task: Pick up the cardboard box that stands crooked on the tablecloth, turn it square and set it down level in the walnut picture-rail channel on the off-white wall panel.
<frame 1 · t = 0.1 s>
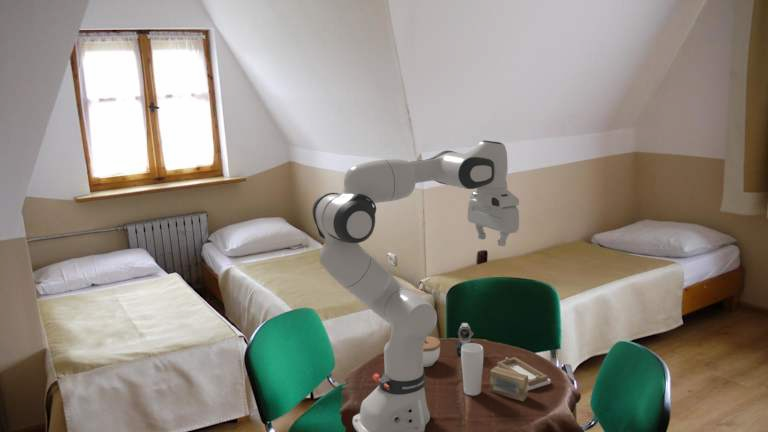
hand: (491, 242, 180), 48 cm above the table, fingers open, 8 cm apart
cardboard box: (508, 394, 188), on the table
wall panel: (521, 376, 198), on the table
lidded jar: (425, 363, 211), on the table
watch: (465, 353, 217), on the table
drinking glass: (472, 392, 190), on the table
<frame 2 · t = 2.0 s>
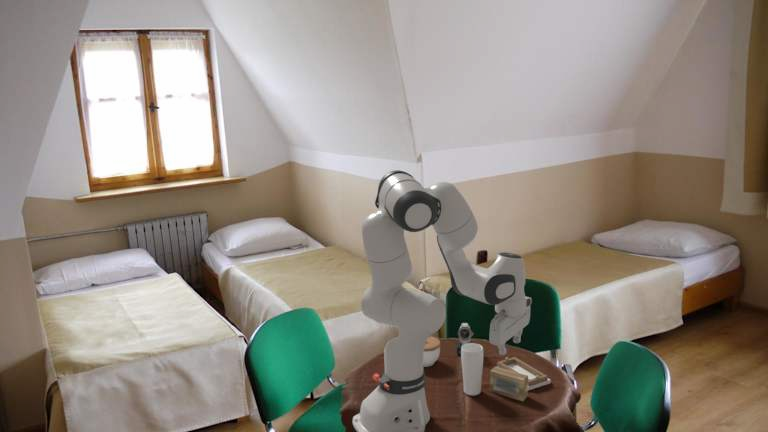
hand: (509, 348, 185), 15 cm above the table, fingers open, 8 cm apart
nothing on the table moved.
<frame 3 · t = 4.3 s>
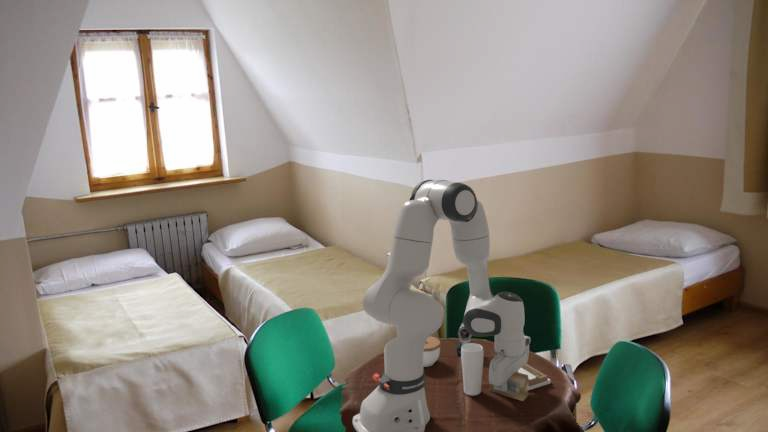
hand: (508, 386, 187), 2 cm above the table, fingers closed on cardboard box, 4 cm apart
cardboard box: (508, 393, 188), on the table, touching gripper
everything else where it was.
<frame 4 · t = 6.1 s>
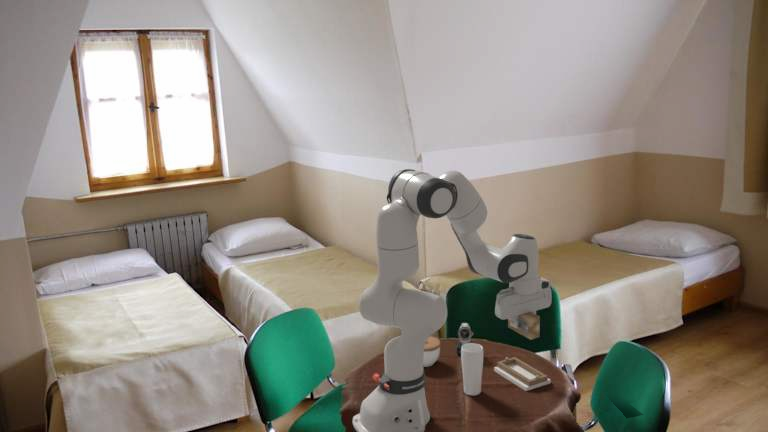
hand: (523, 325, 194), 18 cm above the table, fingers closed on cardboard box, 4 cm apart
cardboard box: (523, 332, 195), point 16 cm above the table, touching gripper
everything else where it was.
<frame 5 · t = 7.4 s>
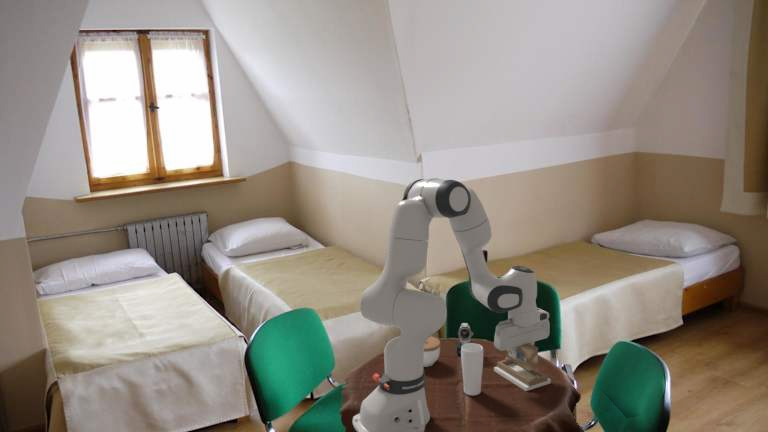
hand: (521, 356, 197), 7 cm above the table, fingers closed on cardboard box, 4 cm apart
cardboard box: (521, 362, 198), point 5 cm above the table, touching gripper
everything else where it was.
when the fingers open (5 cm above the table, at t = 8.1 s): cardboard box drops 1 cm, resting on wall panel.
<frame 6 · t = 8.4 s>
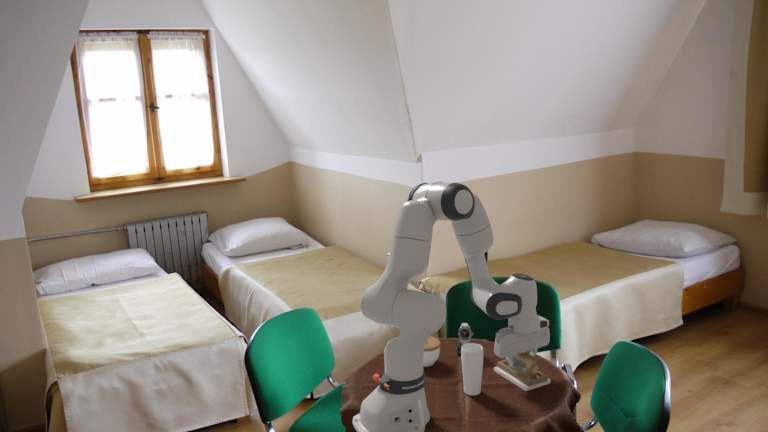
hand: (521, 363, 197), 5 cm above the table, fingers open, 6 cm apart
cardboard box: (521, 373, 198), point 1 cm above the table, touching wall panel
everything else where it was.
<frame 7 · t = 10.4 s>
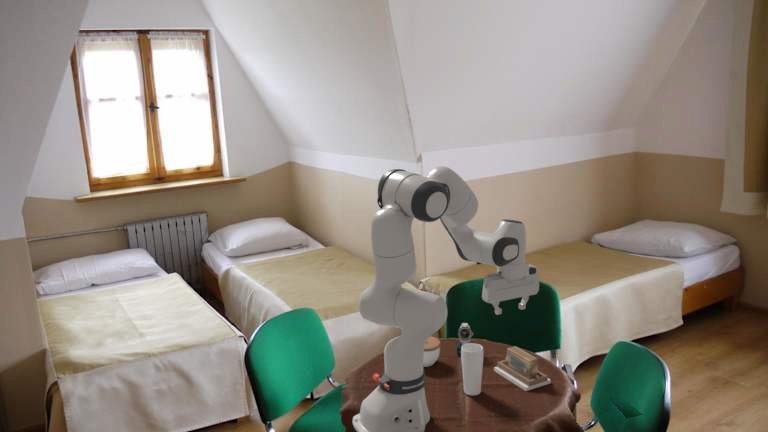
hand: (510, 311, 195), 22 cm above the table, fingers open, 8 cm apart
nothing on the table moved.
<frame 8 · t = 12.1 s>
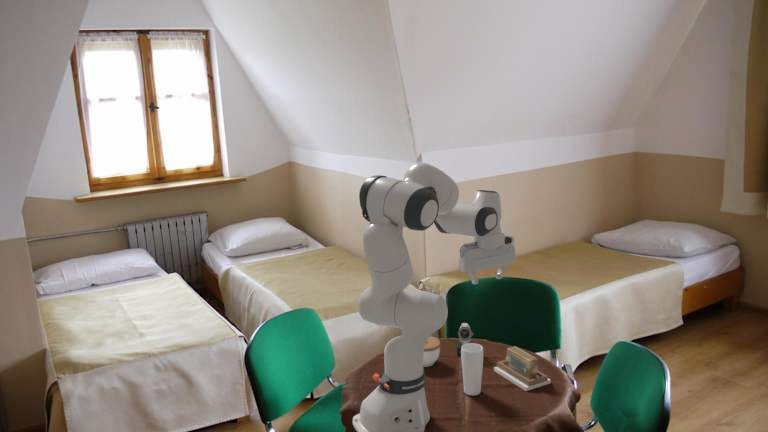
hand: (487, 280, 197), 31 cm above the table, fingers open, 8 cm apart
nothing on the table moved.
at the end: cardboard box 0.0 cm off-centre on the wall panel, point 1.2 cm above the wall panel's base; cardboard box tilted 0°; the gripper is holding nothing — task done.
